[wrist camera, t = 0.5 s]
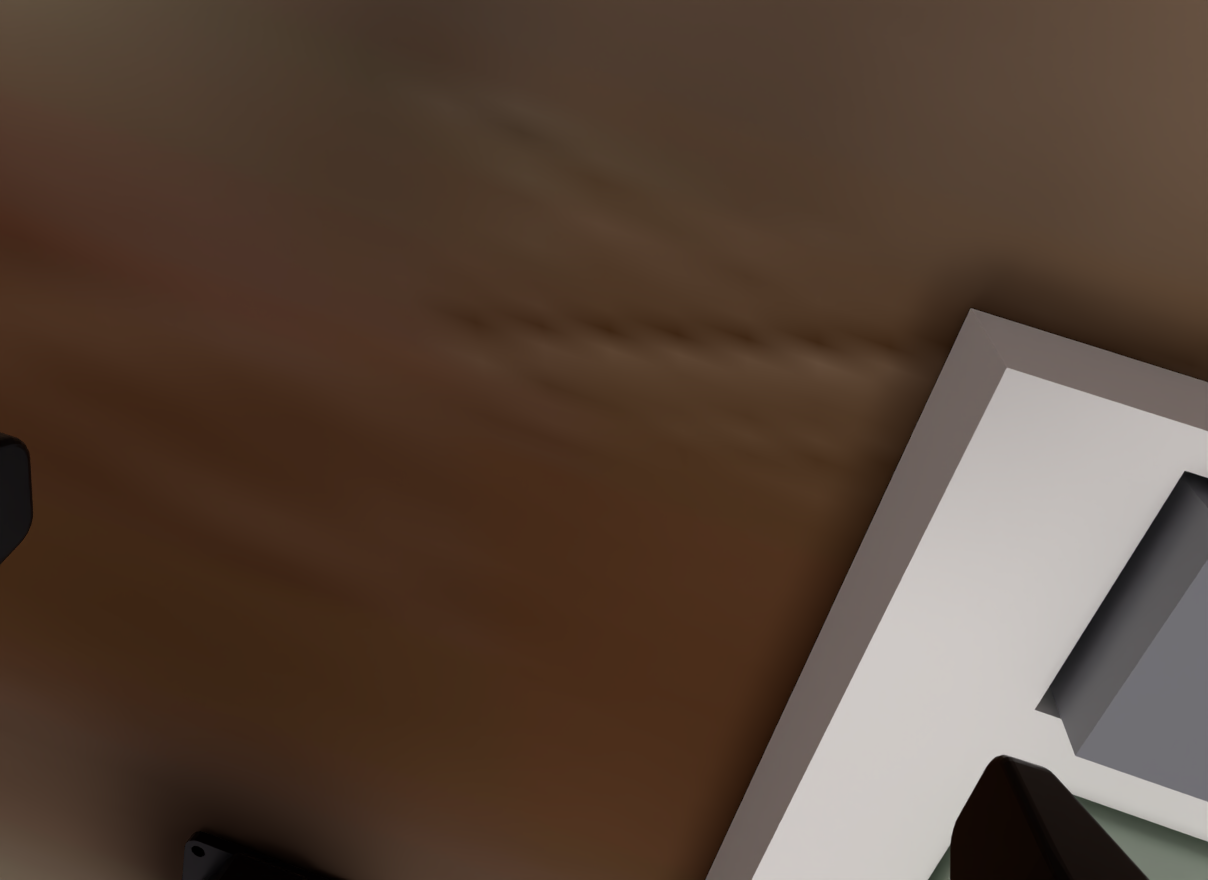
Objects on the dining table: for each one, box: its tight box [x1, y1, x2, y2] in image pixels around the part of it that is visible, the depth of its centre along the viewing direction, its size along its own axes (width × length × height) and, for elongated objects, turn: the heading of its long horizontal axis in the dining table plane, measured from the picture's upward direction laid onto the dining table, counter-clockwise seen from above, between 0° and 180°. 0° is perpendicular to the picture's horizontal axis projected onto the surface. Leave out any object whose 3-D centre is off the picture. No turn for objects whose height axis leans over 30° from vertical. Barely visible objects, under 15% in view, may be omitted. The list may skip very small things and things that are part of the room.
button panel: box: [705, 308, 1208, 880], centre depth 22 cm, size 22×13×4 cm, turn 165°
